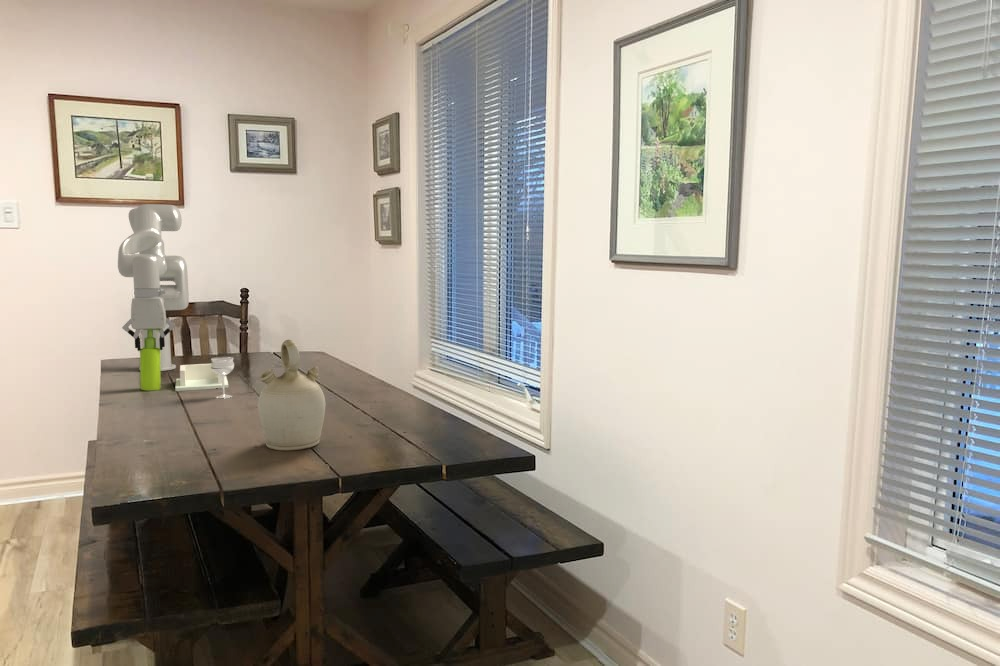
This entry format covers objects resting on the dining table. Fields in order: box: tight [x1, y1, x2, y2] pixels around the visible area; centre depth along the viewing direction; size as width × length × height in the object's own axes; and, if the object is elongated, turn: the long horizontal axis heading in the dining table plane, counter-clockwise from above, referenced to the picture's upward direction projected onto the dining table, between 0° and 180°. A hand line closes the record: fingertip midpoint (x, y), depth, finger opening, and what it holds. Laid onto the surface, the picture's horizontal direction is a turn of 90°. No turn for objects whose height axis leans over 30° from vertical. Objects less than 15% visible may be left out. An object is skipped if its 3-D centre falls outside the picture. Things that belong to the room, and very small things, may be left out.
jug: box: [257, 339, 327, 452], centre depth 175 cm, size 15×16×25 cm
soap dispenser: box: [139, 329, 163, 391], centre depth 241 cm, size 6×7×20 cm
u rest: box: [174, 363, 229, 392], centre depth 250 cm, size 18×16×6 cm
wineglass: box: [210, 356, 235, 399], centre depth 229 cm, size 7×7×12 cm
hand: (150, 349), depth 240 cm, fingers closed on soap dispenser, 5 cm apart
